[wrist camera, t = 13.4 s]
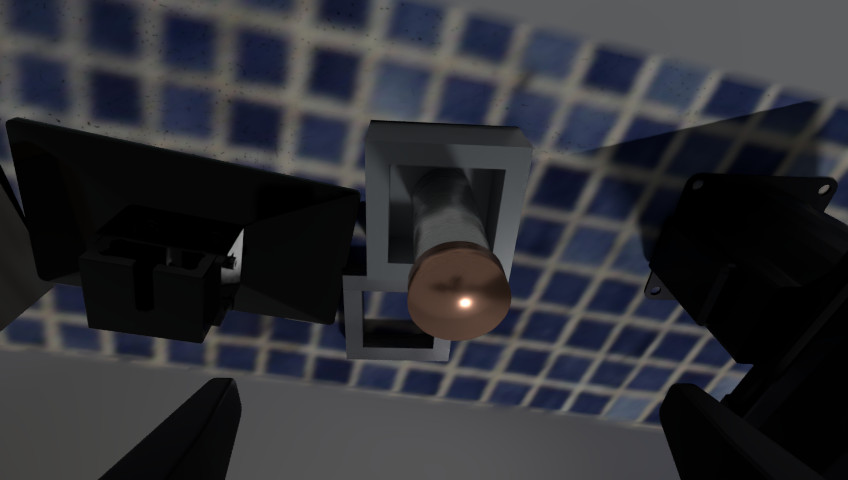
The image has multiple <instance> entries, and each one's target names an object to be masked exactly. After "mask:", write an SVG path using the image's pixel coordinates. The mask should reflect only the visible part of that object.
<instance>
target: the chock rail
mask: <svg viewBox="0 0 848 480" xmlns="http://www.w3.org/2000/svg"><path fill="white" fill-rule="evenodd" d="M55 285H56V283H55V282H48V281H44V280H41V279H40V278H39V277H38V275H37V270H36V265H35V261H34V256H33V251H32V247H31V242H30V237H29V232H28V228H27V223H26V218H25V216H24V214H23V212H22V210H21V208H20V206H19V203H18V201H17V199H16V197H15V195H14V193H13V190H12V188H11V186H10V184H9V182H8V180H7V178H6V175H5V173H4V171H3V169H2V167H1V165H0V331H2V330H3V329H4V328H5V327H6V326H8V325H9V324H10V323H11V322H12V321H14V320H15V319H16V318H17V317H18V316H19V315H21V314H22V313H23V312H24V311H25V310H27V309H28V308H29V307H30V306H31V305H33V304H34V303H35V302H36V301H37V300H39V299H40V298H41V297H42V296H43V295H44V294H46V293H47V292H48V291H49V290H50V289H52V288H53V287H54V286H55Z"/></svg>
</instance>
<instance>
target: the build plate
mask: <svg viewBox="0 0 848 480" xmlns="http://www.w3.org/2000/svg"><path fill="white" fill-rule="evenodd" d="M6 129H7V134H8V139H9V143H10V148H11V153H12V158H13V162H14V167H15V172H16V176H17V181H18V186H19V190H20V195H21V200H22V204H23V209H24V214H25V218H26V223H27V228H28V232H29V237H30V242H31V247H32V251H33V256H34V261H35V265H36V270H37V275H38V277H39V278H40V279H41V280H44V281H48V282H55V283H61V284H68V285H74V286H81V287H82V289H83V295H84V302H85V308H86V315H87V321H88V327H89V328H94V329H101V330H108V331H115V332H122V333H129V334H137V335H144V336H151V337H158V338H165V339H172V340H180V341H187V342H194V343H203V341H204V339H205V337H206V335H207V333H208V331H209V329H210V327H211V326H219V327H220V325H221V323H222V321H223V319H224V317H225V315H226V313H227V311H228V310H230V311H232V310H236V311H242V312H249V313H255V314H262V315H268V316H275V317H281V318H285V319H291V320H297V321H303V322H310V323H316V324H319V323H320V324H326V325H331V324H333V323H334V321H335V317H336V312H337V307H338V302H339V298H340V293H341V288H342V283H343V272H345V269H346V265H347V260H348V255H349V250H350V246H351V241H352V236H353V231H354V227H355V222H356V217H357V213H358V208H359V203H360V198H361V194H360V192H359V191H358V190H355V189H351V188H346V187H341V186H337V185H332V184H327V183H323V182H318V181H313V180H309V179H304V178H299V177H295V176H290V175H285V174H281V173H276V172H271V171H267V170H262V169H257V168H253V167H248V166H243V165H239V164H234V163H229V162H225V161H220V160H215V159H211V158H206V157H201V156H197V155H192V154H187V153H183V152H178V151H173V150H169V149H164V148H159V147H155V146H150V145H145V144H141V143H136V142H131V141H127V140H122V139H117V138H113V137H108V136H103V135H99V134H94V133H89V132H85V131H80V130H75V129H71V128H66V127H61V126H57V125H52V124H47V123H43V122H38V121H33V120H29V119H24V118H19V117H16V118H13V119H10V120H8V121H6Z"/></svg>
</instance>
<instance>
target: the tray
mask: <svg viewBox="0 0 848 480" xmlns="http://www.w3.org/2000/svg"><path fill="white" fill-rule="evenodd" d="M532 153H533V146H532V145H531V144H530V142H529V141H528V140H527V139H526V137H525V136H524V135H523V133H522V132H521V131H520V129H519V128H518V127H511V126H490V125H469V124H448V123H426V122H405V121H384V120H371V122H370V125H369V129H368V132H367V135H366V138H365V176H366V241H367V280H396V281H408V276H409V272H410V269H411V267H412V265H413V264H414V237H413V190H414V187H415V185H416V183H417V182H418V180H419V179H420V178H421V177H422V176H423V175H425V174H426V173H428V172H430V171H432V170H436V169H451V170H454V171H457V172H459V173H460V174H462V175H463V176H464V177H465V178H466V179H467V181H468V182H469V184H470V186H471V190H472V193H473V196H474V199H475V203H476V206H477V209H478V212H479V215H480V219H481V222H482V225H483V228H484V232H485V235H486V238H487V241H488V245H489V248H490V251H491V252H493V253H494V254H495V255H496V256H497V258H498V259H499V260H500V262H501V264H502V266H503V269H504V272H505V275H506V278H507V281H509V276H510V271H511V265H512V260H513V255H514V249H515V244H516V239H517V233H518V228H519V223H520V217H521V212H522V207H523V201H524V196H525V191H526V185H527V180H528V175H529V169H530V164H531V159H532Z"/></svg>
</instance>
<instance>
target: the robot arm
mask: <svg viewBox="0 0 848 480" xmlns="http://www.w3.org/2000/svg"><path fill="white" fill-rule="evenodd" d="M699 179H702V180H703V181H704V184H703V186H702V187H701V188H700V189H697V190H694V189H693V188H692V186H693V184H694V182H695V181H697V180H699ZM824 185H829V186H830V188H829V190H828V191H827V192H826V193H825V194H823V195H819V194H818V192H819V189H820V188H821V187H823V186H824ZM837 187H838V185H837V182H836V181H835V180H833V179H830V178H808V177H785V176H762V175H739V174H715V173H698V174H695V175H693V176H692V177H691V178H690V179H688V181H687V183H686V185H685V187H684V190H683V192H682V195H681V198H680V200H679V203H678V205H677V208H676V210H675V213H674V216H670V217H668V218H667V220H666V221H665V223H664V226H663V228H662V231H661V234H660V236H659V239H658V242H657V244H656V247H655V249H654V252H653V255H652V257H651V260H650V263H649V268H650V269H651V270H652V272H651V275H650V277H649V280H648V283H647V285H646V288H645V291H644V293H645V296H646V297H647V298H649V299H659V300H677V301H678V302H679V303H680V305H681V306H682V307H683V308H684V309H685V310H686V312H687V313H688V314H689V315H690V316H691V318H692V319H693V320H694V321H695V322H696V324H697V325H699V326H706V328H707V329H708V330H709V331H710V332H711V333H712V335H713V336H714V337H715V338H716V339H717V340H718V342H719V343H720V344H721V345H722V346H723V347H724V348H725V350H726V351H727V352H728V353H729V354H730V355H731V357H732V358H733V359H734V360H735V361H736V362H737V363H740V364H753V367H752V368H751V369H750V370H749V372H748V373H747V374H746V375H745V376H744V378H743V379H742V380H741V381H740V383H739V384H738V385H737V386H736V388H735V389H734V390H733V391H732V392H731V394H726V395H725V396H724V398H723V399H722V400H721V401H720V402H719V401H718V400H716V399H715V398H713V397H712V396H711V395H709V394H708V393H706V392H705V391H704V390H702V389H701V388H700V387H698V386H696V385H694V384H690V383H676V384H673V385H672V386H671V387H670V388H669V390H668V392H667V394H666V396H665V399H664V401H663V403H662V405H661V407H660V410H659V417H660V422H661V425H662V427H663V430H664V433H665V436H666V439H667V442H668V445H669V447H670V450H671V453H672V456H673V459H674V462H675V465H676V468H677V471H678V473H679V476H680V479H681V480H848V225H846V224H845V223H843V222H841V221H839V220H837V219H835V218H834V217H832V216H830V215H828V214H826V213H824V211H825V209H826V207H827V206H828V204H829V202H830V200H831V199H832V197H833V195H834V194H835V192H836V190H837ZM654 287H660V291H659V292H658V293H656V294H651V293H650V291H651V290H652V288H654ZM241 411H242V406H241V401H240V397H239V393H238V389H237V385H236V382H235V380H234V379H233V378H213V379H211V380H209V381H208V382H207V383H206V384H205V385H204V386H202V387H201V388H200V389H199V390H198V391H197V392H196V393H195V394H193V395H192V396H191V398H189V399H188V400H187V401H186V402H185V403H184V404H182V405H181V406H180V407H179V408H178V409H177V410H176V411H174V412H173V413H172V414H171V415H170V416H169V417H168V418H167V419H165V420H164V421H163V422H162V423H161V424H160V425H159V426H158V427H157V428H155V429H154V430H153V431H152V432H151V433H150V434H149V435H148V436H146V437H145V438H144V439H143V440H142V441H141V442H140V443H139V444H137V445H136V446H135V447H134V448H133V449H132V450H131V451H130V452H128V453H127V454H126V455H125V456H124V457H123V458H122V459H121V460H120V461H118V462H117V463H116V464H115V465H114V466H113V467H112V468H110V469H109V470H108V471H107V472H106V473H105V474H104V475H103V476H102V477H100V478H99V479H98V480H225V477H226V474H227V470H228V466H229V462H230V458H231V454H232V450H233V445H234V442H235V438H236V434H237V429H238V426H239V422H240V417H241Z"/></svg>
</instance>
